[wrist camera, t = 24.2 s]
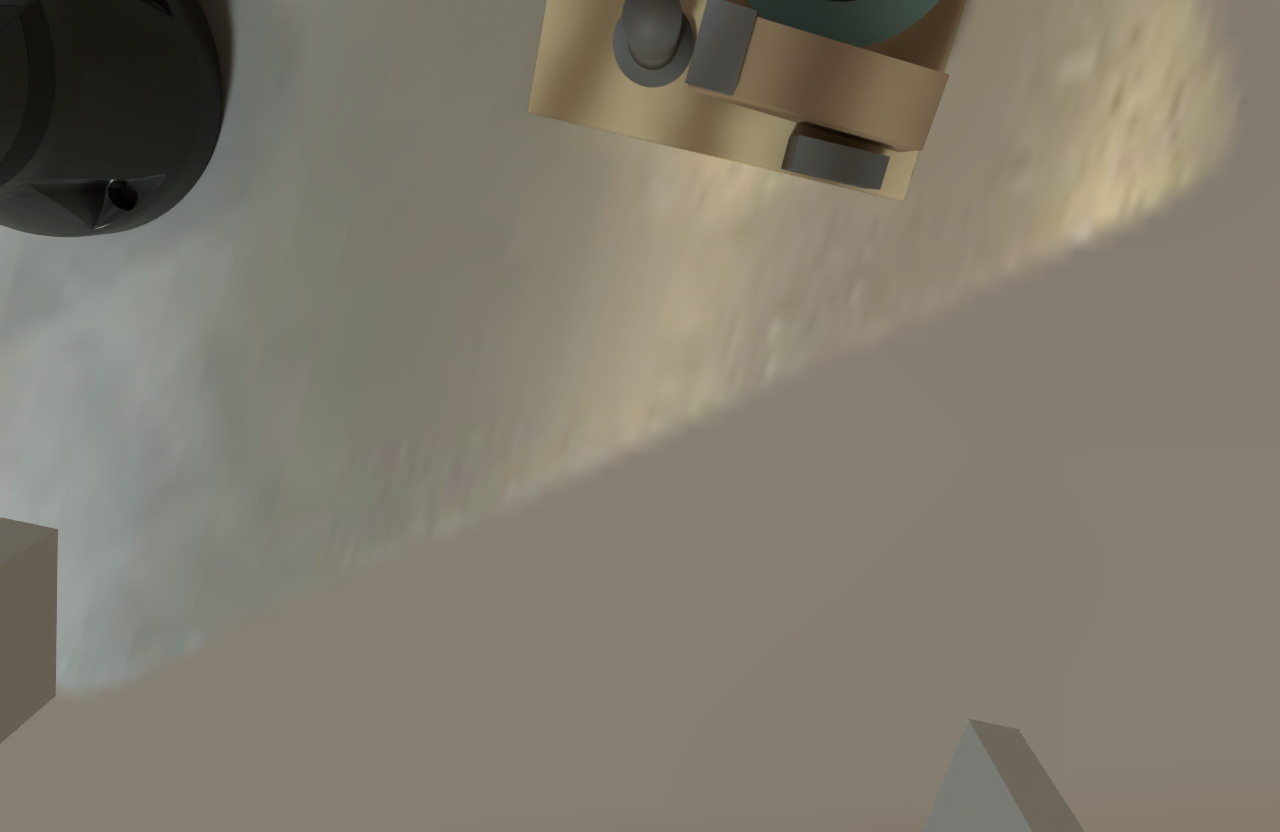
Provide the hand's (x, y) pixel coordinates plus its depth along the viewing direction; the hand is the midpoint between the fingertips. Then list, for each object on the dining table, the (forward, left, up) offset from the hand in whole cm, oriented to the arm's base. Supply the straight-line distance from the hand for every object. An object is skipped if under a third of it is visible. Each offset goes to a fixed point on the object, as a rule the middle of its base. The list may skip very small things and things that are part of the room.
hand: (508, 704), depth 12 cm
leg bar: (+6, +13, -29) cm, 32 cm away
